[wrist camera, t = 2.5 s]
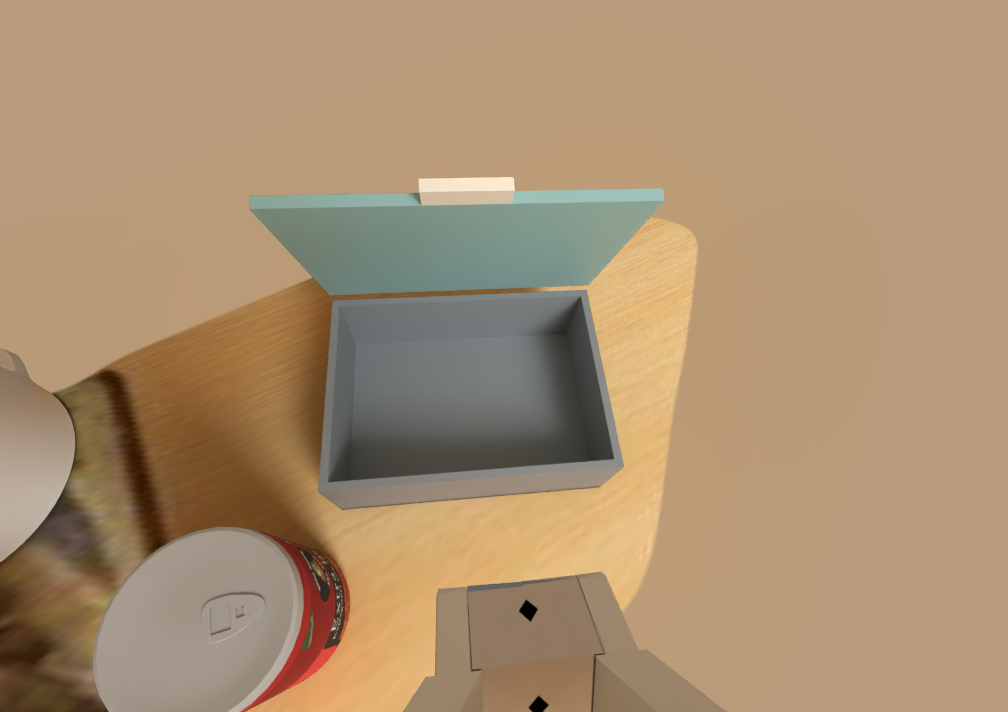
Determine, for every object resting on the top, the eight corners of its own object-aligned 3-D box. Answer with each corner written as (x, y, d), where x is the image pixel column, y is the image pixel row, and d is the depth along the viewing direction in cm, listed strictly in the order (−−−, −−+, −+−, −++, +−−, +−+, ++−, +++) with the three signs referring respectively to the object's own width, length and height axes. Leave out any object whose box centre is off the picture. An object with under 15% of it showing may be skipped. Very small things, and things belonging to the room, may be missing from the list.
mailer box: (342, 509, 32) (318, 492, 27) (351, 342, 38) (332, 300, 33) (599, 487, 34) (624, 466, 29) (570, 331, 40) (586, 289, 35)
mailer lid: (236, 195, 19) (236, 181, 19) (329, 295, 33) (329, 287, 33) (676, 187, 21) (674, 175, 21) (588, 285, 35) (587, 277, 35)
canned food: (374, 633, 29) (328, 650, 19) (244, 723, 27) (118, 795, 17) (322, 523, 32) (259, 489, 22) (200, 596, 29) (69, 594, 20)
